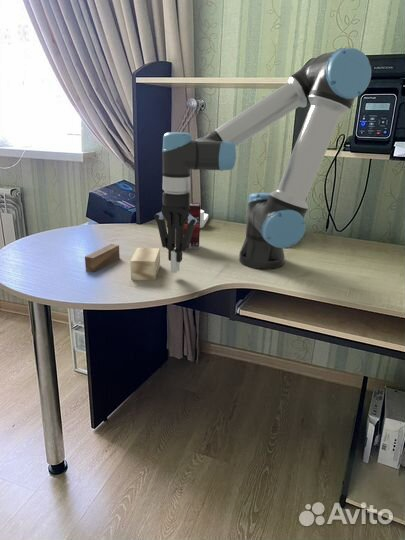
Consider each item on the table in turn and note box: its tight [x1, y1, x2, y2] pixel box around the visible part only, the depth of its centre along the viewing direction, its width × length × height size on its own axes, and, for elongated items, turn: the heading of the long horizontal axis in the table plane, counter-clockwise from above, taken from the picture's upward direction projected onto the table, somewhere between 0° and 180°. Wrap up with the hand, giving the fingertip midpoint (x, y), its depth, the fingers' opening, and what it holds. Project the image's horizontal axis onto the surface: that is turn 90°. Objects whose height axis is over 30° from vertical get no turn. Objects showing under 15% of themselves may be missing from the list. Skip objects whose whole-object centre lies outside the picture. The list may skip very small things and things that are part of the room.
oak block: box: [129, 247, 161, 281], centre depth 127 cm, size 7×12×6 cm, turn 178°
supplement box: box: [175, 202, 202, 250], centre depth 149 cm, size 9×5×16 cm, turn 97°
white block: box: [200, 209, 209, 229], centre depth 183 cm, size 20×9×7 cm, turn 170°
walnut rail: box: [84, 243, 120, 273], centre depth 132 cm, size 3×14×4 cm, turn 158°
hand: (175, 271), depth 123 cm, fingers closed
